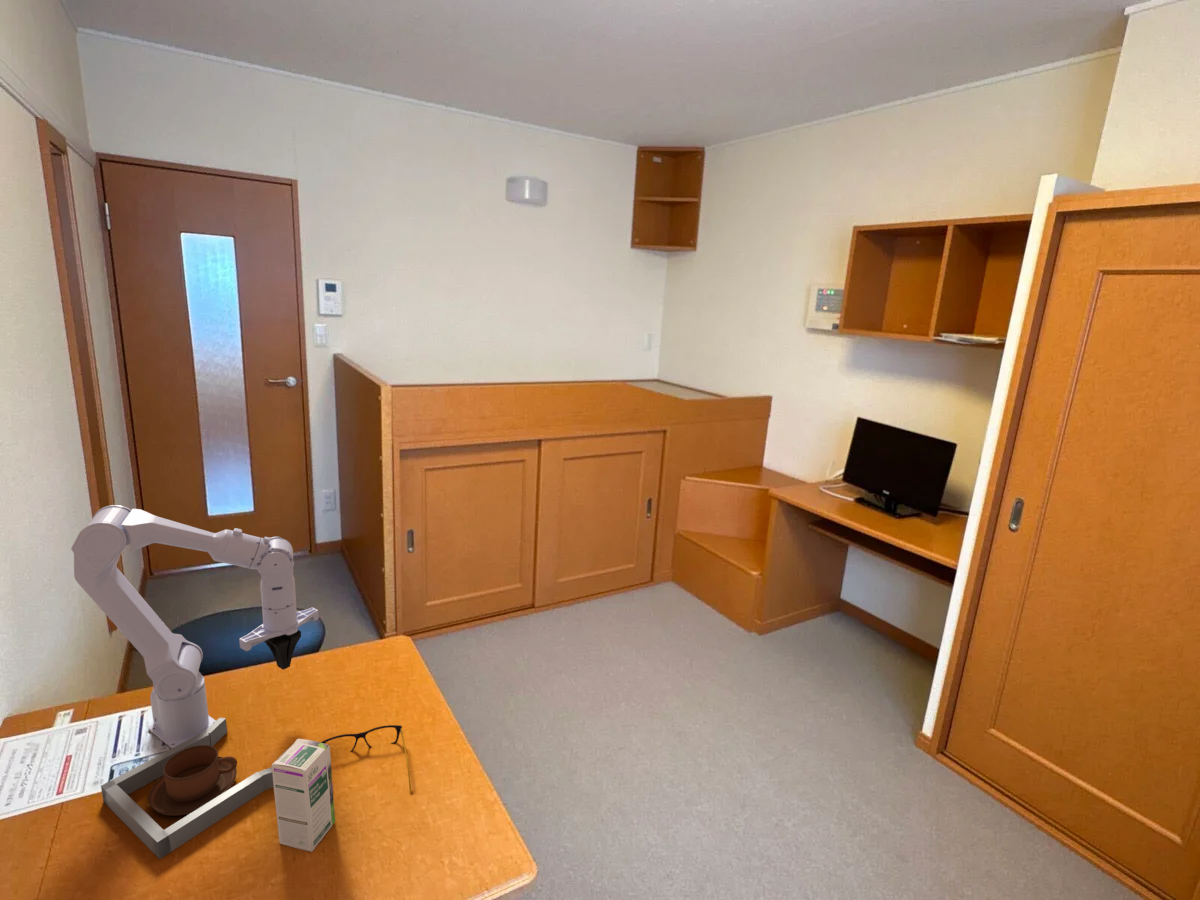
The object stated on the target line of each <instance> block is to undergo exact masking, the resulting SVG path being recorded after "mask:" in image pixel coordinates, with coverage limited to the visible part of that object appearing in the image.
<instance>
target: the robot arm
mask: <svg viewBox="0 0 1200 900" xmlns="http://www.w3.org/2000/svg"><path fill="white" fill-rule="evenodd" d="M152 544H160V545H167V546H171V547H178V548H183V549H188V550H194V551H200V552H205V553H208V554H209V556H210V557H211V559H212V560H213V561H214V562H219V563H224V564H227V565H232V566H237V567H241V568H245V569H250V570H257V573H259V575H260V579H261V580H260V583H259V587H260V598H261V599H260V600H261V601H260V602H261V611H262V612H261V613H262V624H260V625H259V626H258V627H256V628H255V629H253V630H252V631H251V632H249V633H248V634H246V635H244V636H242V637H240V638H238V639H239V648H240V649H242V650H243V651H245V652H248V651H250V650H252V647H254V646H257V645H259V644H261V643H263V642H264V643H265V644H266V646H267V647H268V649H269V650H270V652H271V653H272V655H273V657H274V661H275V663H276V666H277V667H278V668H280V669H281V670H286V669H288V668H290V667H291V664H292V663H291V662H292V658H293V655H294V651H295V648H296V646H297V644H298V643H299V641H300V640H301V637H302V631H301V630H299V629H298V628H299V627H301V626H302V625H304V624H306V623H309V622H310V621H313V622H314V621H317V620H319V618H320V617H319V610H318V609H317V608H315V607H310V608H307V609H303V610H300V611H299V610H298V611H297V596H296V579H295V577H294V573H295V572H294V566H295V562H294V549H293V546H292V544H291V542H290V541H288V540H287V539H285V538H282V537H280V536H272V537H269V536H264V537H260V536H255V535H251V534H247V533H244V532H243V530H242V529H241V528H236V527H234V529H233V530H231V529H227V528H225V529H223V530H220V531H218V532H212V531H208V530H205V529H201V528H198V527H194V526H191V525H189V524H184V523H181V522H178V521H174V520H171V519H168V518H164V517H160V516H158V515H155V514H152V513H150V512H149V511H145V510H143V509H140V508H131V509H130V508H129V507H127V506H124V505H119V504H111V505H107V506H104V507H102V508H100V509H99V510H97V511H96V512H95V513H94V515H93V516H92V518H91V520H90V521H89V522H88V524H87V525H86V526H84V528H82V529H81V530H80V532H79V533H78V535H77V537H76V539H75V540H74V542H73V544H72V546H71V548H70V549H71V551H72V553H73V577H74V580H75V581H76V583H77V584H78V585H79V586H80V587H81V588H82V590H84V592H85V593H86V594H87V595H88V597H90V598H91V599H92V601H93V602H94V604H96V605H97V607H99V609H100V610H101V611H102V612H103V613H104V614H105V615H106V616H107V618H108V619H109V620H110V621H111V622H112V623H113V624H114V625H115V626H116V627H117V629H118V630H119V631H120V633H122V634H123V636H124V637H125V638H126V639H127V640H128V641H129V642H130V644H132V646H133V647H134V648H135V649H136V650H137V652H139V653H140V655H141V656H142V657H143V661H144V665H145V670H146V675H147V676H148V677H149V678H150V679H151V681H152V687H153V688H152V690H151V693H150V696H149V698H150V700H149V701H150V705H151V706H150V707H151V712H152V719H153V720H152V722H153V723H151V724H150V725H149V726H148V727H147V729H148V731H150V732H151V733H152V734H153V735H155V736H156V738H158V739H159V740H161V741H162V743H164V744H165V745H167V746H168V747H169V748H170V749H172V748H173V747H175V746H177V745H179V744H181V743H183V742H185V741H187V740H189V739H191V738H192V737H194V736H196V735H198V734H200V733H202V732H204V731H206V730H207V729H208V728H209V727H210V726H211V725H212V724H213V723H214V722H215V721H217V719H214V718H213V717H212V716H210V715H209V709H208V699H207V693H206V692H207V691H206V682H205V677H204V676H203V674H202V673H201V672H200V671H199V670H200V666H201V663H202V661H203V657H204V653H203V651H202V650H203V649H202V648H201V647H200V646H199V645H198V644H196V643H194V642H192V641H189V640H187V639H186V638H185V637H184V636H183V635H182V634H180V633H173V632H172V631H171V630H170V628H169V627H168V626H167V625H166V624H165V622H164V621H163V620H162V619H161V617H159V615H158V614H157V613H156V611H154V610H153V607H151V606H150V605H149V604H148V602H147V601H146V600H145V598H144V597H143V596H142V595H141V593H139V591H137V589H136V588H135V587H134V585H132V584H131V583H130V581H129V580H128V579H127V578H126V576H125V575H124V574H123V573H122V572H121V570H120V569H119V568H118V566H117V565H118V563H119V560H120V557H121V555H122V553H123V551H124V550H125V549H126V547H127V546H128V545H130V547H129V550H130V552H134V551H136V550H139V549H141V548H144V547H147V546H149V545H152Z"/></svg>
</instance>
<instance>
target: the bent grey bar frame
mask: <svg viewBox="0 0 1200 900" xmlns="http://www.w3.org/2000/svg"><path fill="white" fill-rule="evenodd" d="M227 733H228V725H227V718H225V717H219V718H217V719H216V721H215V722H214V723H213V724H212V725H211V726H210V727H209V728H208V729H207V730H206V731H204V732H202V733H200V734H198V735H196V736H194V737H192V738H191V739H189V740H187V741H185V742H183V743H181V744H179V745H177V746H175V747H173V748H170V749H168V750H166V751H164V752H162V753H161V754H159V755H156V756H154V757H152V758H151V759H149V760H147V761H145V762H143V763H141V764H140V765H137V766H135V767H134V768H132V769H131V770H128V771H126V772H124V773H123V774H121V775H119V776H117V777H115V778H113V779H111V780H109V781H107V782H105V783H104V784H102V785H100V789H101V790H100V791H101V795H102V801H103V803H104V804H105V805H106V806H107V807H108V808H109V809H110V810H111V811H112V812H113V813H114V814H115V815H116V816H117V817H118V818H119V819H120V820H121V821H122V823H124V825H126V826H127V827H128V828H129V829H130V830H131V832H133V834H135V836H136V837H137V838H139V840H140V841H141V842H142V843H143V844H144V845H145V846H146V847H147V848H148V849H149V850H150V851H151V852H152V853H153V854H154V855H155V856H156V858H158V859H159V860H161V859H162V858H164V857H165V856H167V855H168V854H170V853H171V852H173V851H174V850H176V849H177V848H179V847H180V846H183V845H184V844H185V843H186V842H188V841H190V840H192V839H193V838H194V837H196V836H197V835H199V834H200V833H202V832H203V831H206V829H208V828H210V827H211V826H213V825H214V824H216V823H218V822H219V821H220V820H222V819H223V818H225V817H226V816H229V814H231V813H232V812H234V811H235V810H237V809H239V808H240V807H242V806H243V805H245V804H246V803H248V802H249V801H251V800H252V799H254V798H255V797H257V796H259V795H260V794H261V793H263V792H264V791H267V790H269V789H274V785H273V775H272V766H271V767H268V768H266V769H263V770H260V771H256V772H254V773H253V774H251V775H250V776H248V777H246V778H244V779H243V780H242V781H240V782H239V783H236V785H234V786H231V788H230V789H229V790H227V791H226V792H224V793H222V794H221V795H219V796H218V797H216V798H214V799H213V800H211V801H210V802H208V803H206V804H205V805H203V806H202V807H200V808H198V809H197V810H195V811H193V812H192V813H189V814H186V816H184V817H183V818H181V819H179V820H177V821H175V822H174V823H172V824H171V825H170V826H168V827H166V828H165V829H163V828H162V827H161V826H160V825H159V824H158V823H157V821H155V820H154V819H153V818H152V817H151V816H150V814H148V813H147V812H146V811H145V810H144V809H143V808H142V807H141V806H139V804H137V803H136V801H134V800H133V798H132V797H130V796H129V795H130V794H132V793H134V792H135V791H137V790H139V789H141V788H143V787H145V786H146V785H148V784H150V783H151V782H153V781H156V780H158V779H159V778H161V777H162V776H163V775H164V766H165V764H166V762H167V761H168V760H169V759H170V758H171V757H172V756H174V755H175V754H177V753H178V752H180V751H182V750H184V749H187V748H189V747H193V746H198V745H208V746H212V747H214V746H215V745H216V744H217V743H218V742H219V741H220V740H221V739H222V738H223V737H224V736H225V735H226V734H227Z"/></svg>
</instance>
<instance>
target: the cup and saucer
mask: <svg viewBox="0 0 1200 900" xmlns="http://www.w3.org/2000/svg"><path fill="white" fill-rule="evenodd" d="M218 752H219V751H218V749H217V748H216V747H214V746H213V747H212V746H208V745H198V746H193V747H189V748H187V749H184V750H182V751H180V752H178V753H177V754H175V755H174V756H172V757H171V758H170V759H169V760H168V761H167V762H166V764H165V766H164V775H163V776H161V777H159V778H157V779H156V780H157V781H156V782H154V783H153V785H152V787H151V789H150V791H149V793H148V804H149V806H150V807H151V809H152V810H153V811H154V812H156V813H158V814H161V815H164V816H172V817H173V816H184V815H189V814H190V813H192V812H193V811H195V810H197V809H198V808H200V807H202V806H203V805H205V804H206V803H208V802H210V801H211V800H213V799H214V798H216V797H218V796H219V795H221V794H222V793H224V792H226V791H227V790H229V789H230V788H232V787H233V785H234V783H235V781H236V778H237V773H238V772H237V766H238V761H237V758H236V757H233V756H230V755H229V756H224V757H223V756H219V753H218Z"/></svg>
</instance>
